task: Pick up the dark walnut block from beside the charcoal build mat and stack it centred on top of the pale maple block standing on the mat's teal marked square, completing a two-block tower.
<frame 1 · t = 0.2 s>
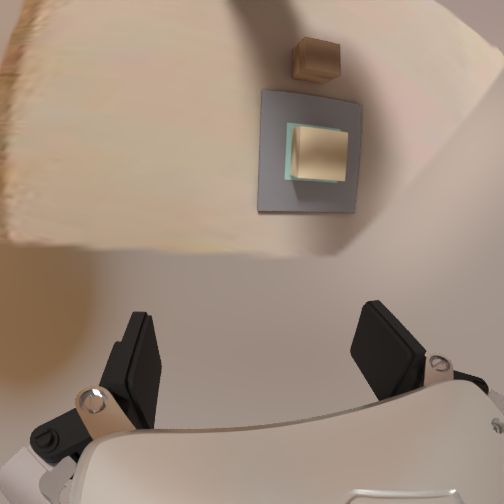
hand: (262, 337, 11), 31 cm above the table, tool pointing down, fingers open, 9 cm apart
walnut block: (308, 66, 33), on the table
build mat: (312, 153, 38), on the table
maple block: (313, 153, 38), point 1 cm above the table, touching build mat
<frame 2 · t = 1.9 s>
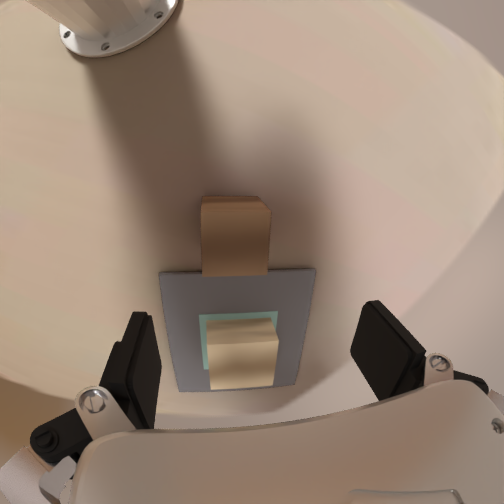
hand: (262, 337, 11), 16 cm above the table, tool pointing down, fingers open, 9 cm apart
walnut block: (229, 222, 26), on the table
build mat: (237, 340, 31), on the table
maple block: (238, 343, 30), point 1 cm above the table, touching build mat
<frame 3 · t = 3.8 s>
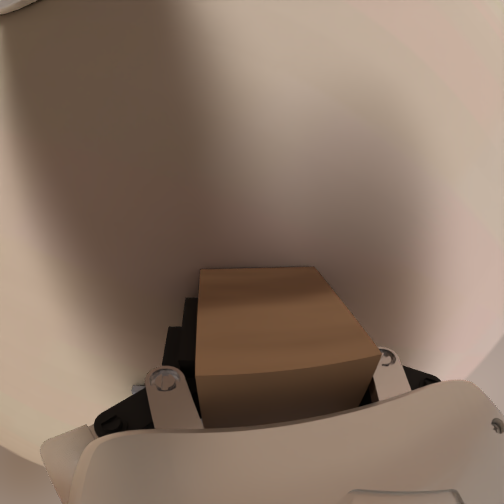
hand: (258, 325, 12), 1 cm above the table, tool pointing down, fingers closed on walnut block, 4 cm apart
walnut block: (256, 316, 13), on the table, touching gripper
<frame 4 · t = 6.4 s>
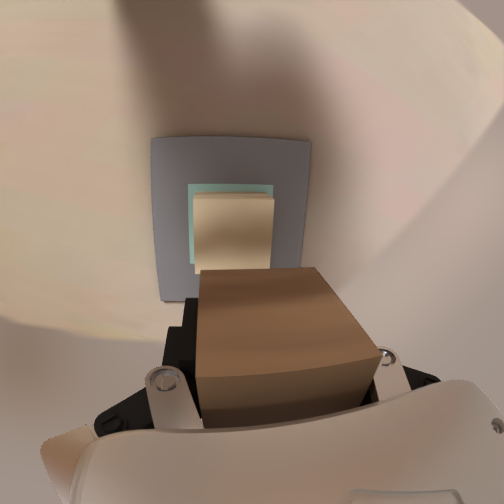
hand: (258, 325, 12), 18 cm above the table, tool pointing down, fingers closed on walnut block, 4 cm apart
walnut block: (256, 317, 13), point 17 cm above the table, touching gripper
build mat: (229, 223, 29), on the table
maple block: (230, 225, 28), point 1 cm above the table, touching build mat
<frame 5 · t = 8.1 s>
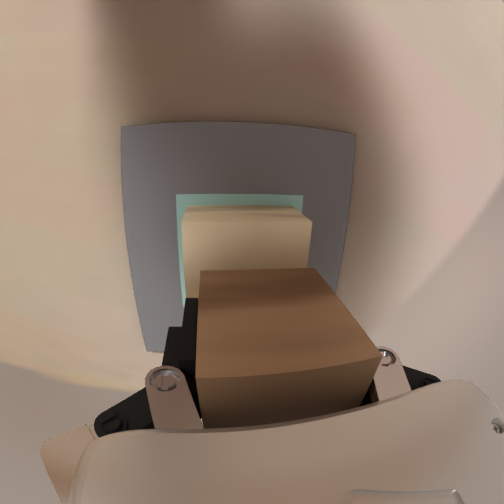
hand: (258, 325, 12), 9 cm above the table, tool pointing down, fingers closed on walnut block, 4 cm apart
walnut block: (256, 317, 13), point 8 cm above the table, touching gripper
build mat: (238, 251, 20), on the table
maple block: (239, 254, 19), point 1 cm above the table, touching build mat
when the fingers open (7 cm above the table, at t = 9.3 s): walnut block drops 2 cm, resting on maple block.
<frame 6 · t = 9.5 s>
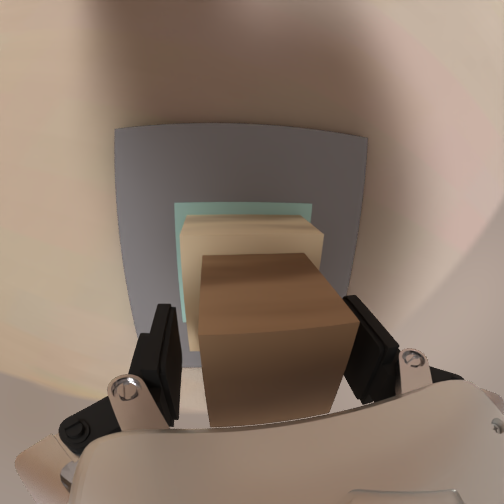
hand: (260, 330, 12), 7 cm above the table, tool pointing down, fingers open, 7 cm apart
walnut block: (253, 298, 14), point 5 cm above the table, touching maple block
build mat: (242, 263, 18), on the table
maple block: (243, 267, 18), point 1 cm above the table, touching build mat, walnut block
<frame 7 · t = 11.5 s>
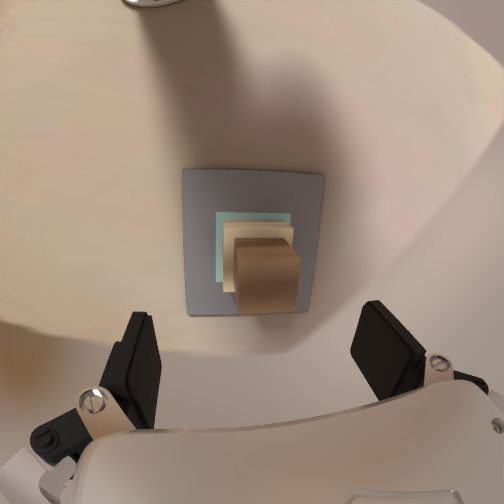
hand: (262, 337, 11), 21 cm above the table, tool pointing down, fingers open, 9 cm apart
walnut block: (258, 261, 28), point 5 cm above the table, touching maple block
build mat: (251, 247, 33), on the table
maple block: (252, 248, 32), point 1 cm above the table, touching build mat, walnut block
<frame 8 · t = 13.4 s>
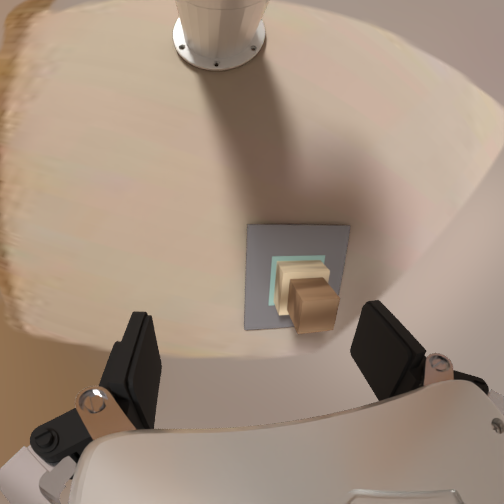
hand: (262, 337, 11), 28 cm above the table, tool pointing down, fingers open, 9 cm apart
walnut block: (304, 293, 39), point 5 cm above the table, touching maple block
build mat: (295, 279, 43), on the table
maple block: (296, 281, 43), point 1 cm above the table, touching build mat, walnut block
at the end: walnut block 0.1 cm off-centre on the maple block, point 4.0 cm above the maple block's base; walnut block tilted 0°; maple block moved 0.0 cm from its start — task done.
